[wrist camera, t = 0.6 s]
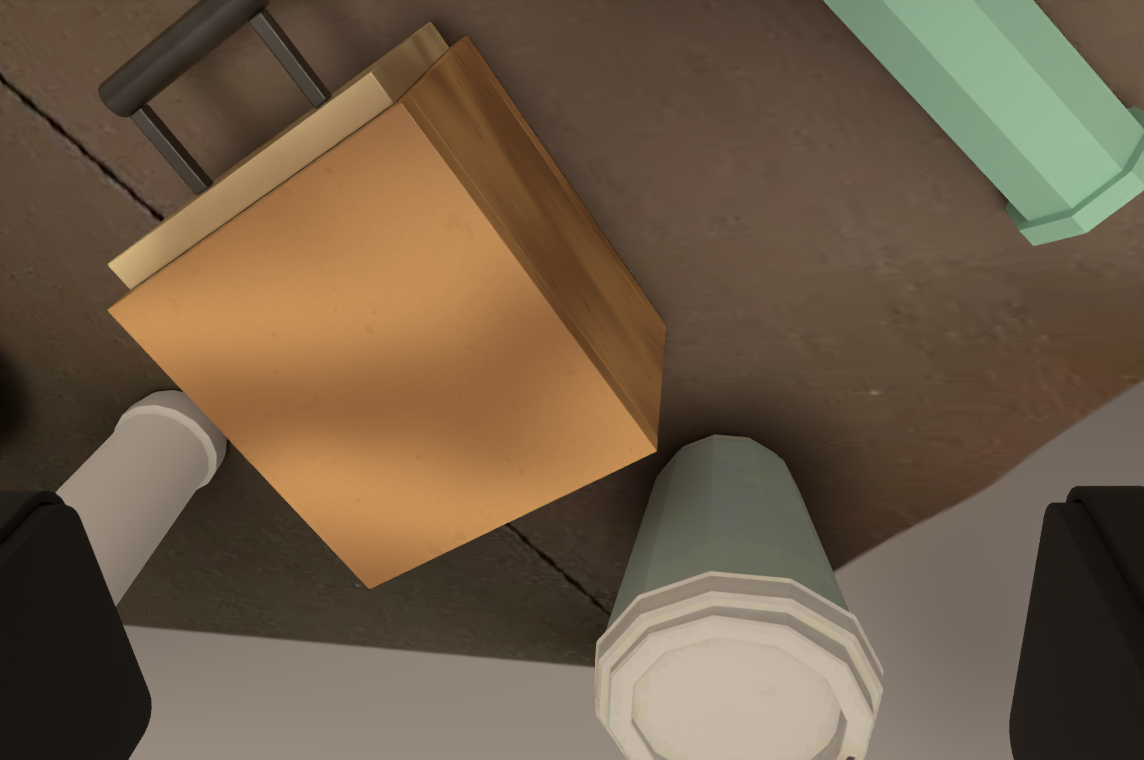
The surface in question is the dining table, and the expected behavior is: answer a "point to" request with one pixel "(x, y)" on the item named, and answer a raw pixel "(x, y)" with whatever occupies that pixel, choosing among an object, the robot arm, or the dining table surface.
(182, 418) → the bottle
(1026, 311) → the dining table surface
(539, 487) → the cabinet
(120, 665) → the robot arm
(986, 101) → the container
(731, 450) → the disposable coffee cup
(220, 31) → the drawer
